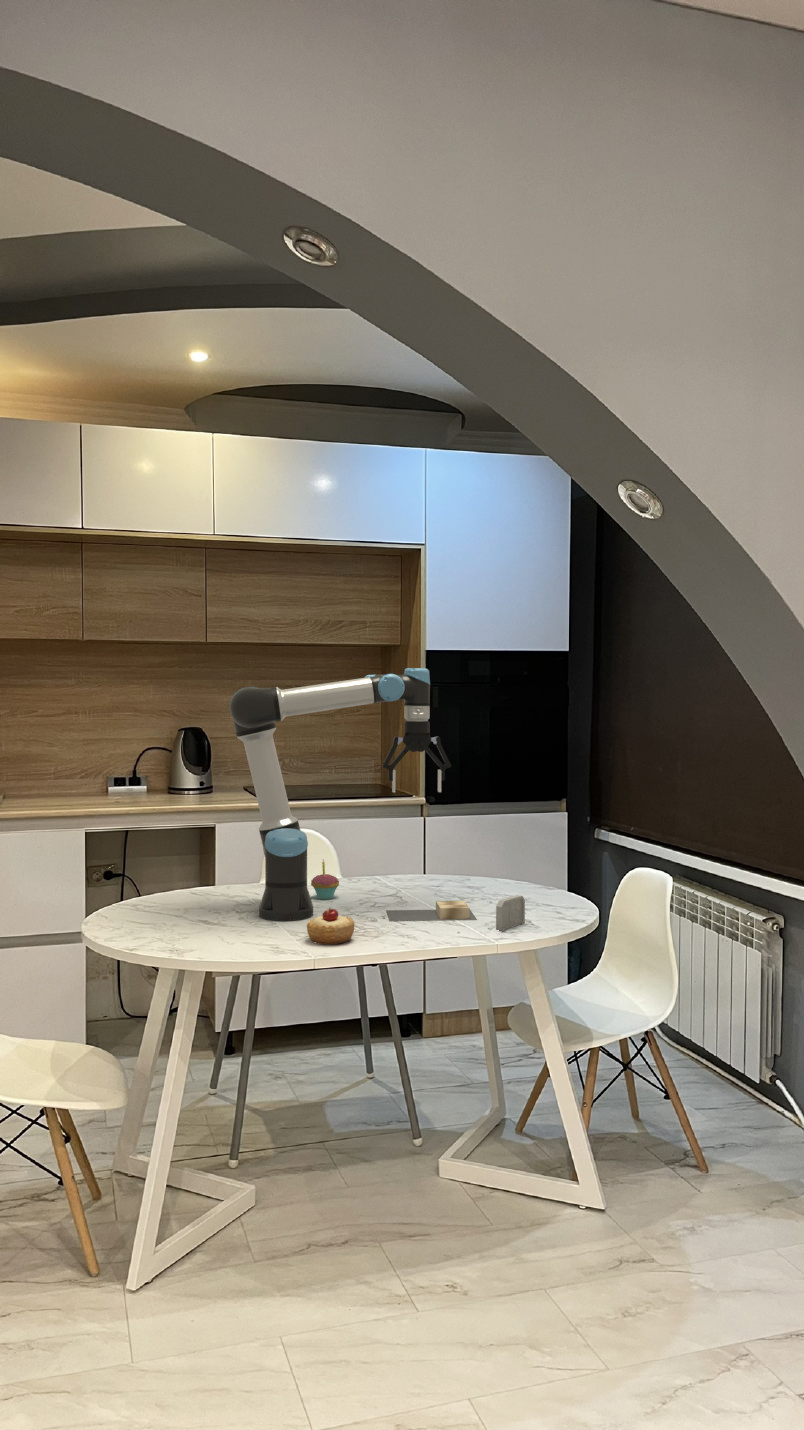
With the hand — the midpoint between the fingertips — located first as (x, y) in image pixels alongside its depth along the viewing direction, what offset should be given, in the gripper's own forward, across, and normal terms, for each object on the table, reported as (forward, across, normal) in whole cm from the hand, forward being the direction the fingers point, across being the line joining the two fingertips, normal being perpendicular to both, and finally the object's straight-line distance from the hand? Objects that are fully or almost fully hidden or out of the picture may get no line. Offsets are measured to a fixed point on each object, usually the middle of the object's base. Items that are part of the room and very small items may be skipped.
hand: (416, 792), depth 312 cm
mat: (+33, +2, -21) cm, 39 cm away
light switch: (+33, +22, -34) cm, 52 cm away
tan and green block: (+31, +8, -26) cm, 41 cm away
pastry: (+33, -26, -46) cm, 62 cm away
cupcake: (+33, -27, +8) cm, 43 cm away
